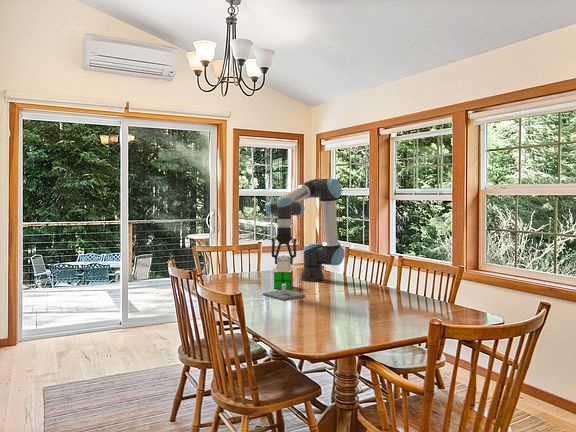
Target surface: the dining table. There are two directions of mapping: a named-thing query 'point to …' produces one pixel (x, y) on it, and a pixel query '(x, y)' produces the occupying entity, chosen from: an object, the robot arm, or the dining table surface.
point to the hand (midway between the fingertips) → (283, 270)
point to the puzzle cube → (283, 279)
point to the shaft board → (283, 294)
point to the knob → (283, 264)
